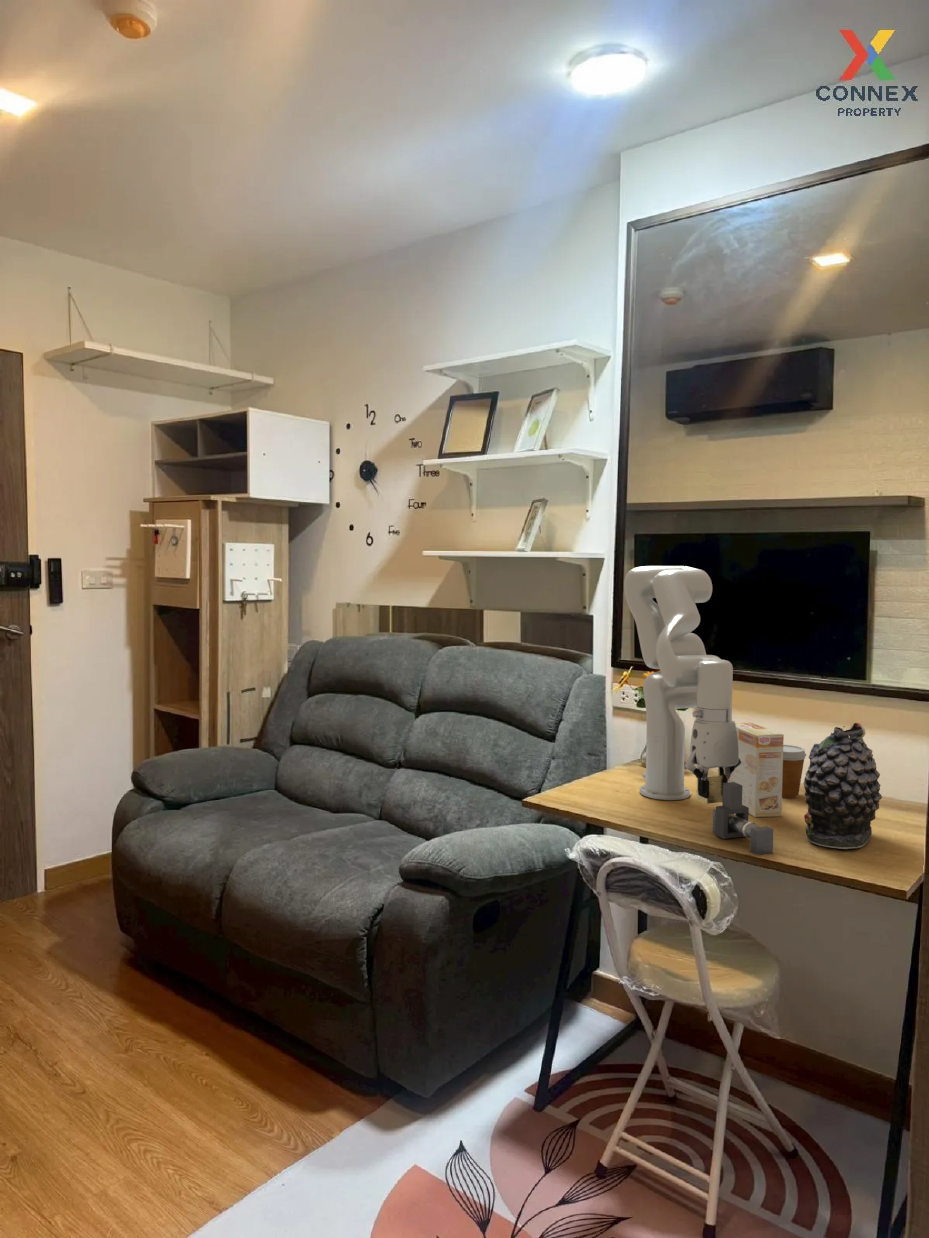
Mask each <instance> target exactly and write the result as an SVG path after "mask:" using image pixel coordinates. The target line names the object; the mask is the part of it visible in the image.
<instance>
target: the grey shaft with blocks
mask: <svg viewBox="0 0 929 1238" xmlns="http://www.w3.org/2000/svg"><path fill="white" fill-rule="evenodd" d="M715 813H716V809H713V810H712V833H713V834H715ZM728 828H731V829H733V830H735V831H737V832H739V833H741V834H743V835H744V836H743V837H746V838H747V839H750V841H749V852H750V853H752V854H753V855H755V856H758V855H765V854H766V855H768V854H773V853H774V851H773V850H774V849H773V847H774V828H772V827H770V826H768V825H766V826H765V825H764V826H759V825H757V824H756V823H755V822H753V821H749V820H748V821H747V820H745V819H743V818H740V817H738V816H736V814H728Z"/></svg>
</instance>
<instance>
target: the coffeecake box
mask: <svg viewBox="0 0 929 1238" xmlns="http://www.w3.org/2000/svg"><path fill="white" fill-rule="evenodd" d="M735 724H736V729H737V735H738V747H739V759H740V761H741V764H740V765H739V766H738V767H736V768H735V770H734V771H733V772H732V773H731V775H730V778H729V779H728V782H735V783H738V784H740V785H742V805H744V806H746V807H748V808H749V812H748V815H751V816H752V817H754V818H767V817H768V818H771V817H773V818H774V817H783V815H782V809H783V808H782V807H783V797H782V776H783V745H784V739H785V738H784V736H785V735H784V734H783V733H780V732H777V731H776V730H772V729H770V728H768V727H764V726H762V725H760V724H757V723H754V722H735Z"/></svg>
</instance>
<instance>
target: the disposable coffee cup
mask: <svg viewBox="0 0 929 1238" xmlns="http://www.w3.org/2000/svg"><path fill="white" fill-rule="evenodd" d="M806 757H807V753H806V751H805V748H803V747H801V746H798V745H792V744H791V745H790V744H783V776H782V798H785V799H792V798H793V799H794V798H797V797H799V794H800V788H801V782H802V781H801V780H802V775H803V770H804V769H803V768H804V762H805V759H806Z"/></svg>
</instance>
